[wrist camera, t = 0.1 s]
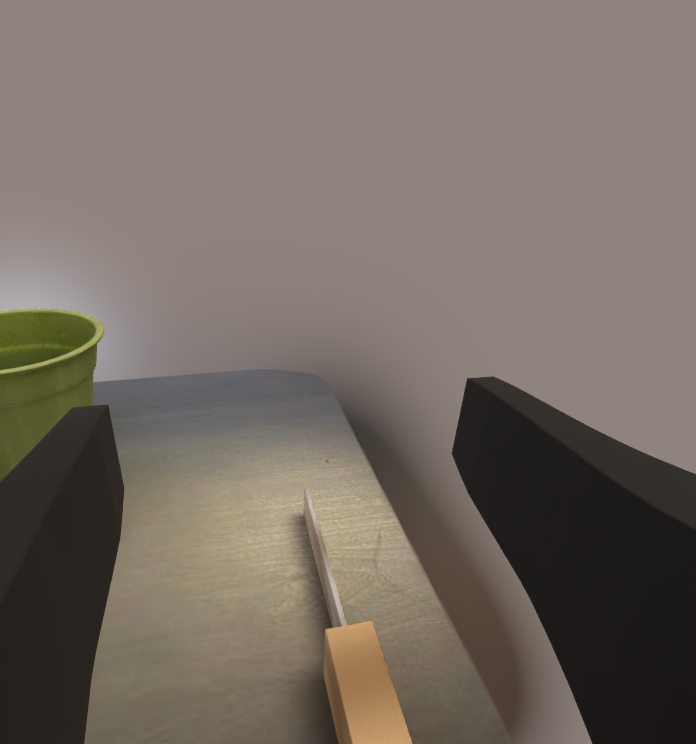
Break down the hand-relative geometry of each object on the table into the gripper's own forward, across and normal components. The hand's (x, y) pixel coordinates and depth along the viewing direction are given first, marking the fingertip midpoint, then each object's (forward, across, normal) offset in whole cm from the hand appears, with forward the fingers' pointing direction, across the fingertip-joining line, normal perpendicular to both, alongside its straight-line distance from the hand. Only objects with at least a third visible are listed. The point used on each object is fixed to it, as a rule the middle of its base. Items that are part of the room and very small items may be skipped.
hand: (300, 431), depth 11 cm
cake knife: (+9, -4, +21) cm, 23 cm away
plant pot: (+27, +15, +23) cm, 39 cm away
